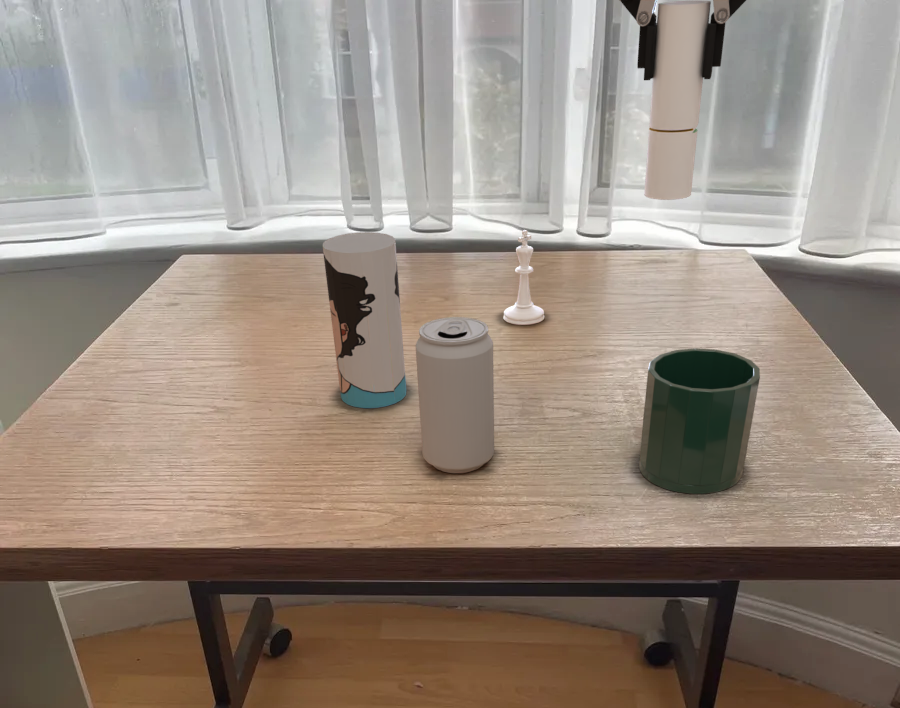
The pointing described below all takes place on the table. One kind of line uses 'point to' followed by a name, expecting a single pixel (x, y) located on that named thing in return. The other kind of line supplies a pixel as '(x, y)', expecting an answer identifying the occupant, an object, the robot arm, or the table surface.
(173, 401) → the table surface
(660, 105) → the tube
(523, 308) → the chess piece
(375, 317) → the cup
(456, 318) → the beverage can
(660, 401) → the cup
